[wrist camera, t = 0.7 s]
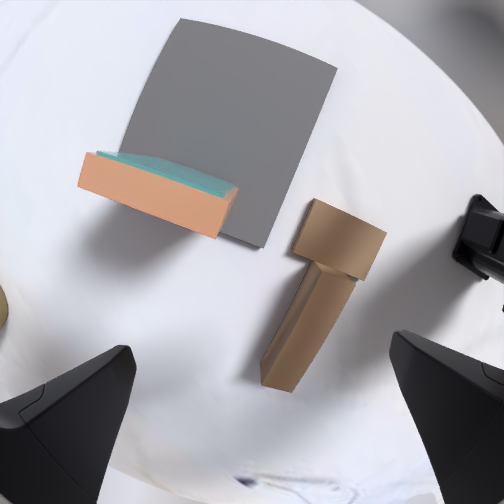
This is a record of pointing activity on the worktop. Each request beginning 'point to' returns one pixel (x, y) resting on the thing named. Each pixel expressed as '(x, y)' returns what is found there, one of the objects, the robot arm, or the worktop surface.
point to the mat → (232, 116)
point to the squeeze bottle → (3, 308)
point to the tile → (160, 189)
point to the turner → (319, 289)
